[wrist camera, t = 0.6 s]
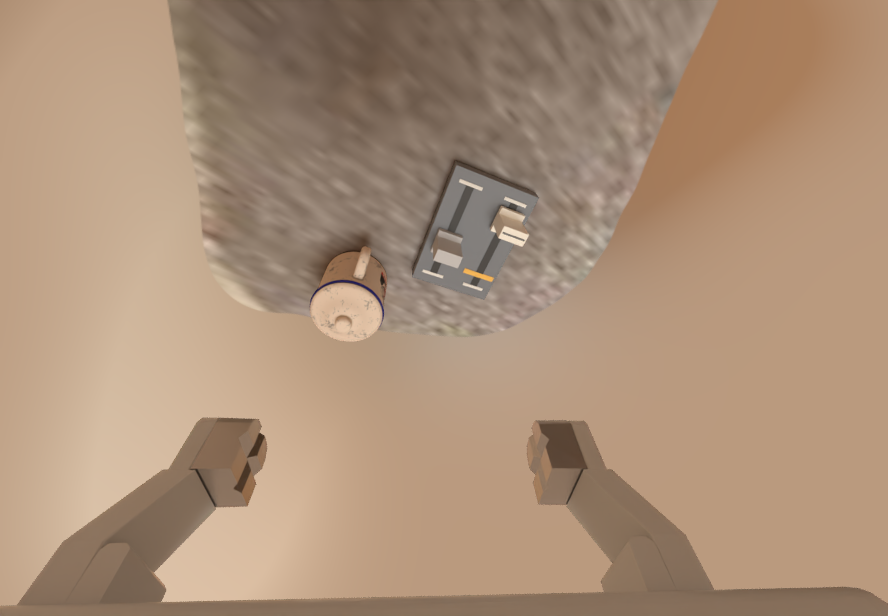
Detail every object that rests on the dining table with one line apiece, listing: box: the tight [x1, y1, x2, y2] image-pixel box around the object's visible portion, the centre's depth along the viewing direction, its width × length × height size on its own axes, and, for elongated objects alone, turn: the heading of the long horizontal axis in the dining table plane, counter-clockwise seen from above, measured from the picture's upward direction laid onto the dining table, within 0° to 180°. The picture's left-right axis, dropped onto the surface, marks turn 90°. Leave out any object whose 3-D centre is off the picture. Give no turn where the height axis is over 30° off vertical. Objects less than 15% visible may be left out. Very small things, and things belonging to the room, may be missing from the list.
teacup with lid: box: [310, 246, 387, 341], centre depth 49 cm, size 12×9×12 cm
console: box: [412, 161, 539, 300], centre depth 49 cm, size 16×11×7 cm
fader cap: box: [490, 206, 529, 247], centre depth 46 cm, size 3×3×5 cm
